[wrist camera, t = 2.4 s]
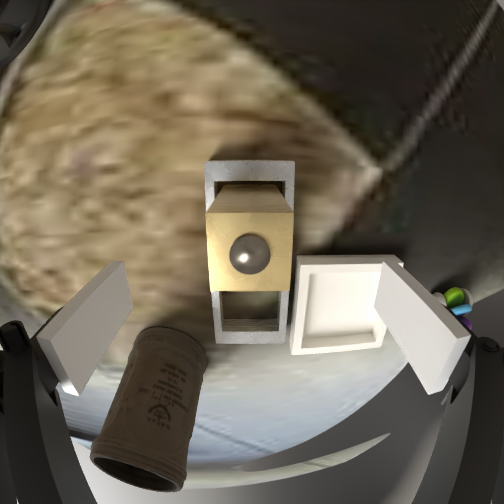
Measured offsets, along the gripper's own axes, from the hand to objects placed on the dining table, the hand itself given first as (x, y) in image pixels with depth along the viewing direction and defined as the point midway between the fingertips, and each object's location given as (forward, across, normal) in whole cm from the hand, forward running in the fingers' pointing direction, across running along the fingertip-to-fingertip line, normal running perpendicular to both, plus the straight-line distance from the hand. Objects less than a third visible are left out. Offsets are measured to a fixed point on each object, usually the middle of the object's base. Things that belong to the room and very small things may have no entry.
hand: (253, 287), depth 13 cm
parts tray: (+16, +11, -10) cm, 22 cm away
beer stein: (+16, -12, -22) cm, 29 cm away
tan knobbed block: (+16, 0, 0) cm, 16 cm away
